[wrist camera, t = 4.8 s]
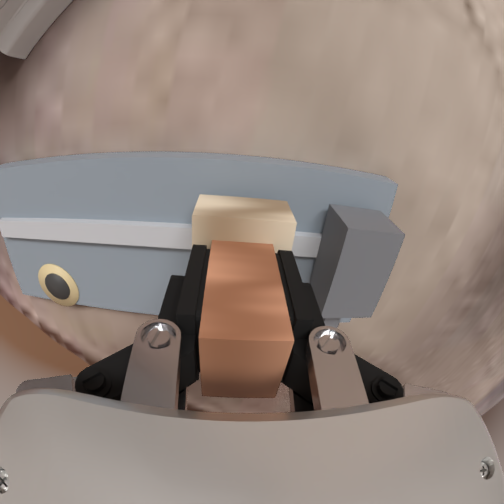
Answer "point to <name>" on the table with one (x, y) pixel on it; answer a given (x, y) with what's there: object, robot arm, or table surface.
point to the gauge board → (187, 225)
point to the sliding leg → (243, 295)
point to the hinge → (26, 23)
